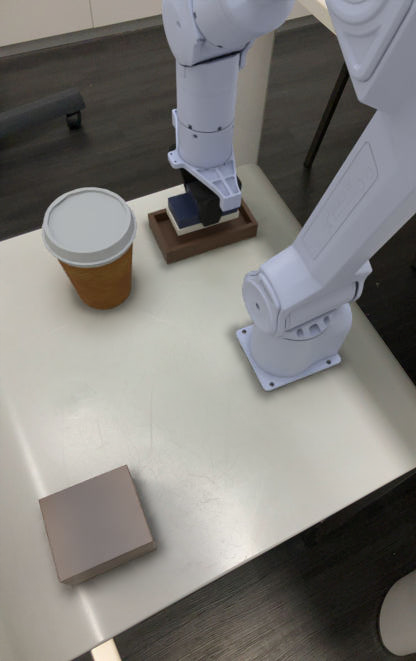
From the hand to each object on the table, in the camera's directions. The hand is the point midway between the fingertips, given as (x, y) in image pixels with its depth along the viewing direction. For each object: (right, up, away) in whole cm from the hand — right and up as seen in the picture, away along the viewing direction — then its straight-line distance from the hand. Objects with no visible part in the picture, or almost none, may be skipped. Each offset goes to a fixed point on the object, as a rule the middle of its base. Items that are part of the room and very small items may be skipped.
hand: (203, 209), depth 63 cm
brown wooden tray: (0, -2, +3) cm, 4 cm away
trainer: (0, -1, +1) cm, 1 cm away
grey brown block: (-9, -33, -15) cm, 38 cm away
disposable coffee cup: (-12, -10, -1) cm, 15 cm away
